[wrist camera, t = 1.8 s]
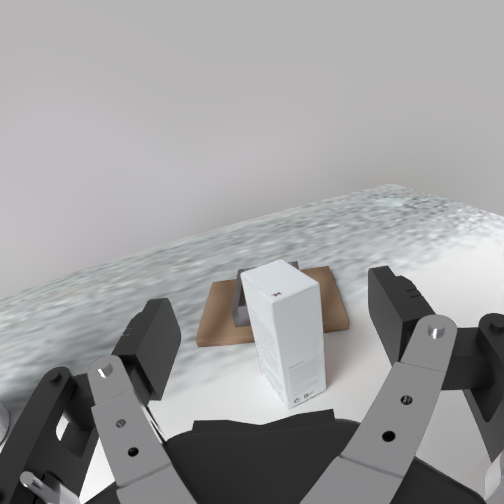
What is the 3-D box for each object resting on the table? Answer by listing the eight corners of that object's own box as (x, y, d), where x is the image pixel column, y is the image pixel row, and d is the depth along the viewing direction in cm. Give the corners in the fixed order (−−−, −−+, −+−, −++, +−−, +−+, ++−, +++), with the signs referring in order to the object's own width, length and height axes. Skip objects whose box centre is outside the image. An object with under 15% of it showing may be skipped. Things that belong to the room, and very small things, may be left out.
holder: (198, 347, 37) (190, 323, 35) (214, 288, 49) (209, 268, 48) (348, 328, 35) (348, 303, 33) (329, 272, 47) (327, 251, 46)
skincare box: (328, 390, 27) (322, 283, 22) (288, 410, 26) (270, 305, 21) (296, 356, 32) (282, 256, 28) (260, 373, 31) (237, 272, 26)
